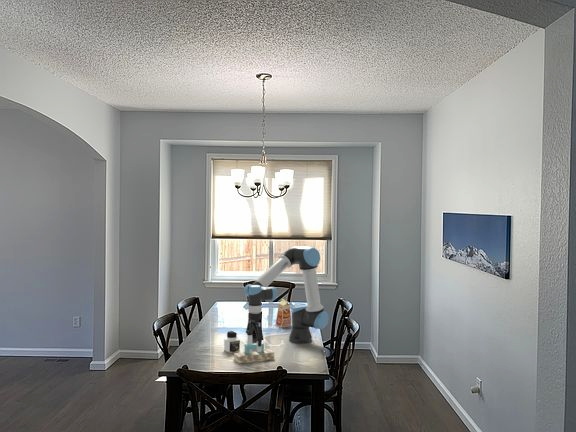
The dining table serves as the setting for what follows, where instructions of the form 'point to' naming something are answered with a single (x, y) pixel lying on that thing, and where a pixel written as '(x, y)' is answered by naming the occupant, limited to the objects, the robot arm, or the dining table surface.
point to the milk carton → (283, 314)
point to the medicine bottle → (231, 342)
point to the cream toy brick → (253, 356)
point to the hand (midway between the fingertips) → (254, 349)
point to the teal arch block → (252, 346)
